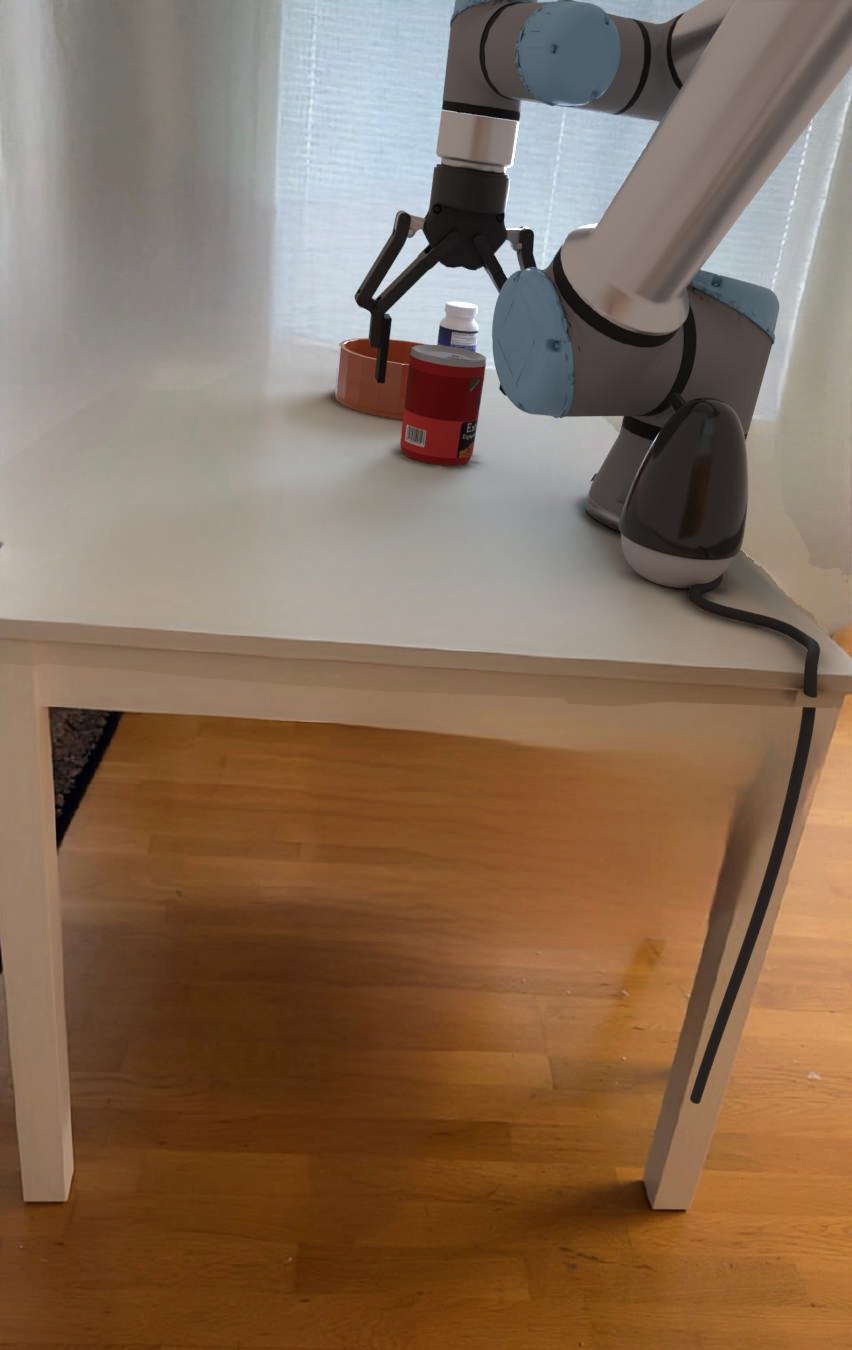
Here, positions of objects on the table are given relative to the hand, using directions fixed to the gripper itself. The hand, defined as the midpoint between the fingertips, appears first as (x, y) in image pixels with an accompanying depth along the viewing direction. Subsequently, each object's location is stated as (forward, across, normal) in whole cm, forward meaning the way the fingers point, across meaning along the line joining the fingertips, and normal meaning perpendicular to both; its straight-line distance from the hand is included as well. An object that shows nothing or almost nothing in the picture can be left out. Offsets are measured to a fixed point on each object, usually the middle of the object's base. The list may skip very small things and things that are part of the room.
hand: (443, 387), depth 113 cm
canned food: (+8, 0, 0) cm, 8 cm away
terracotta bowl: (+8, +1, -23) cm, 24 cm away
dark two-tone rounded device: (+7, -15, +32) cm, 36 cm away
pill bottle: (+8, -10, -45) cm, 46 cm away
